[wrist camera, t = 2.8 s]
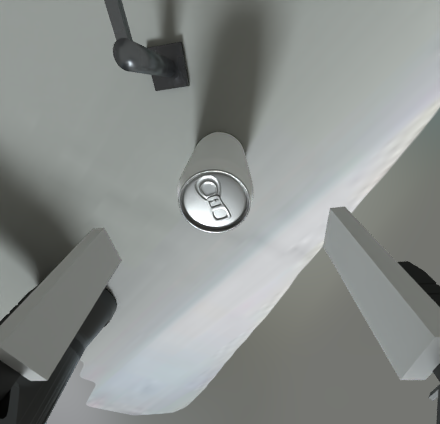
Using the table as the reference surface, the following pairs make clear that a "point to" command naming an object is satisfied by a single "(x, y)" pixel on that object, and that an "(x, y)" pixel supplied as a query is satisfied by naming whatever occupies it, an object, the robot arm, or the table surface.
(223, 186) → the can
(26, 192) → the table surface
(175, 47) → the dark grey angled piece
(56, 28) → the table surface
